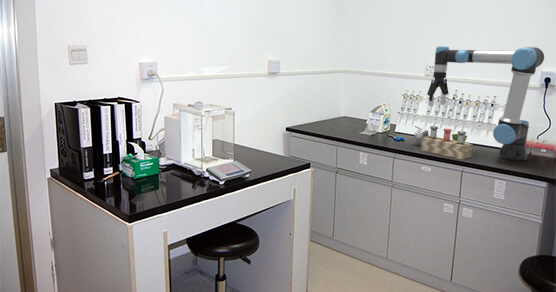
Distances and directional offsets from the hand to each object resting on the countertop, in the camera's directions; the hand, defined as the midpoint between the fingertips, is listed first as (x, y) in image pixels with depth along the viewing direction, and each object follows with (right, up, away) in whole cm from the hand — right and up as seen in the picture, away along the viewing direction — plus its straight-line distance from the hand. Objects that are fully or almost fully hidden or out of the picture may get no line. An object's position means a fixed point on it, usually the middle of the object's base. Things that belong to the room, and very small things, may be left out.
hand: (436, 105), depth 287 cm
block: (+1, -30, -12) cm, 33 cm away
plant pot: (+14, -28, +2) cm, 31 cm away
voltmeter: (-7, -24, +14) cm, 29 cm away
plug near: (+7, -27, -20) cm, 34 cm away
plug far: (-5, -23, -6) cm, 25 cm away
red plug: (+1, -25, -13) cm, 28 cm away
